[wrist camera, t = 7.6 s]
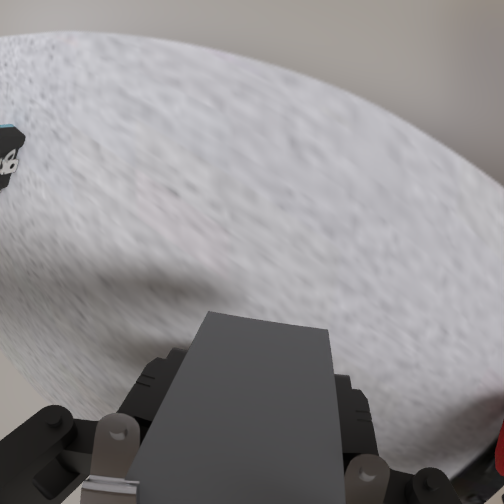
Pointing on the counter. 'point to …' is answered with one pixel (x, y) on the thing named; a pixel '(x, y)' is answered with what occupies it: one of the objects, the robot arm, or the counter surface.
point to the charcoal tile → (246, 420)
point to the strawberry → (500, 452)
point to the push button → (9, 151)
